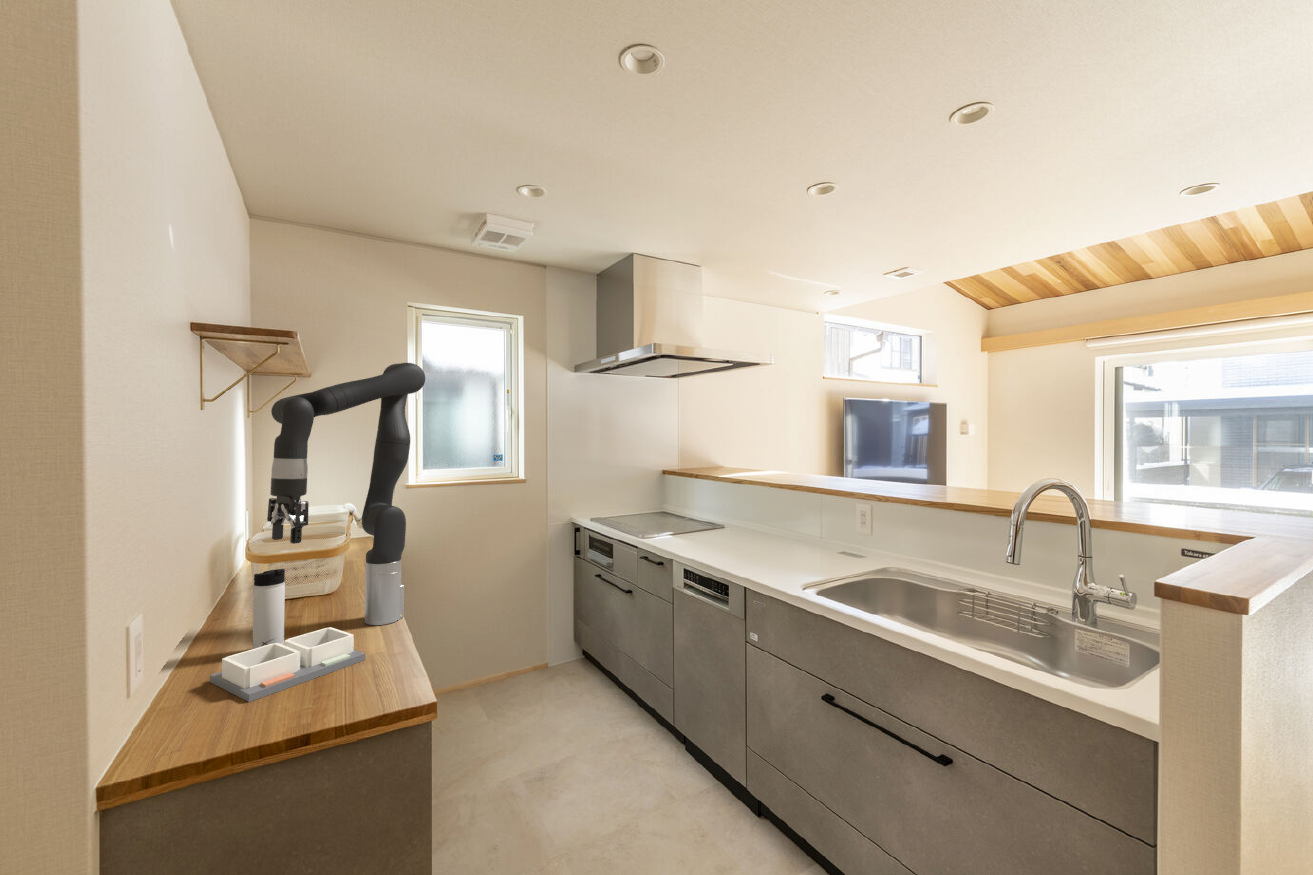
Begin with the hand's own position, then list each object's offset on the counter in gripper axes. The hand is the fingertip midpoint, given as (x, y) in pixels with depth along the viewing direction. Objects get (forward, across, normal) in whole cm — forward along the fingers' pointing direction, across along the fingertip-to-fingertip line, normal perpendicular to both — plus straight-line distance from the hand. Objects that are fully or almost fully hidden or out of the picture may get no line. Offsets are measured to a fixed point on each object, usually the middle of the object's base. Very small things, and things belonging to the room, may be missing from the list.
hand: (286, 541), depth 135 cm
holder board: (+27, -16, +5) cm, 31 cm away
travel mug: (+27, +1, +2) cm, 27 cm away
